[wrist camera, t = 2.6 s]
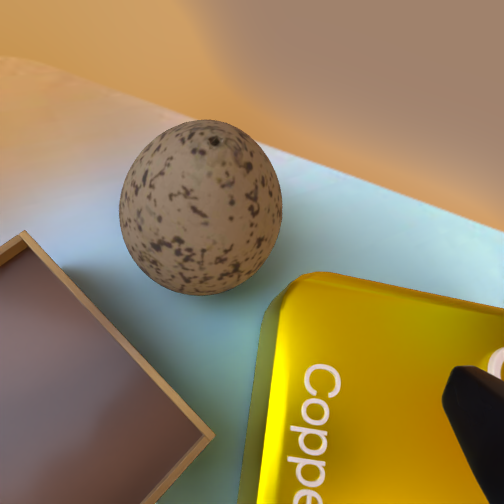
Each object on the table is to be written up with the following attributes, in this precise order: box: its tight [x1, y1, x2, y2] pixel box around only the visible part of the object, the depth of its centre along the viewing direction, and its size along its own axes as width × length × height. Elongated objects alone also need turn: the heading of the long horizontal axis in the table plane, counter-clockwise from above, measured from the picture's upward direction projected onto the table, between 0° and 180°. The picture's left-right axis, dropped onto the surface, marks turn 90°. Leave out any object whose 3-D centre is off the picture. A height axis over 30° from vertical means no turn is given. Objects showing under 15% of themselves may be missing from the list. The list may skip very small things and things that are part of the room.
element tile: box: [237, 272, 504, 504], centre depth 19 cm, size 15×15×5 cm
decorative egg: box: [119, 120, 282, 296], centre depth 18 cm, size 7×7×10 cm
